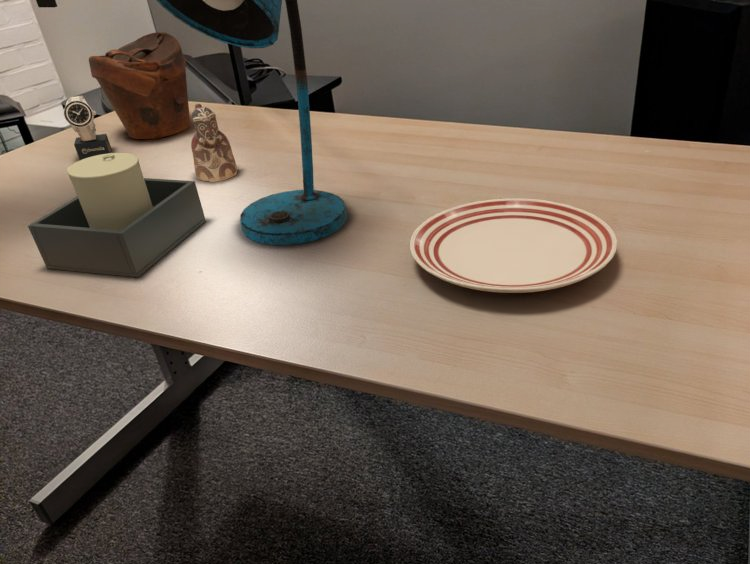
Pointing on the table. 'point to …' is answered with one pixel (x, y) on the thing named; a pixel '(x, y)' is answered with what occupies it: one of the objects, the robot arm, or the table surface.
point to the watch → (85, 128)
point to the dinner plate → (513, 245)
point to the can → (110, 189)
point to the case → (146, 85)
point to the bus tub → (120, 233)
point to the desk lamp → (308, 206)
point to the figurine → (211, 148)
